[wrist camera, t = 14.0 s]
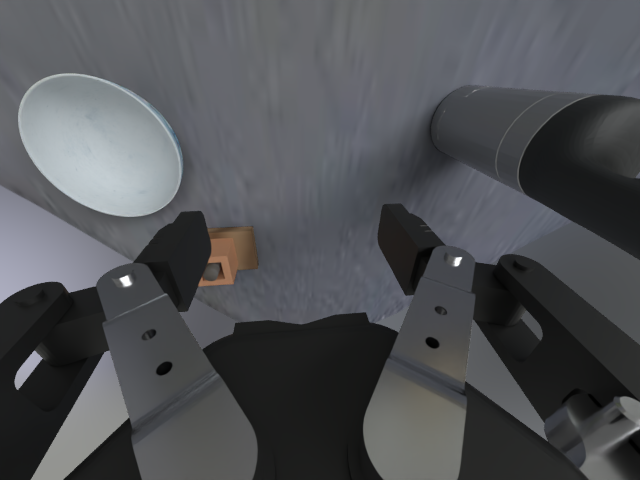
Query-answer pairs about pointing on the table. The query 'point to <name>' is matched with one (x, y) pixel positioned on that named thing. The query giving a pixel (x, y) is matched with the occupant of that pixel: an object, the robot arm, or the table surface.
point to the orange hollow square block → (222, 262)
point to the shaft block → (243, 248)
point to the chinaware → (101, 144)
